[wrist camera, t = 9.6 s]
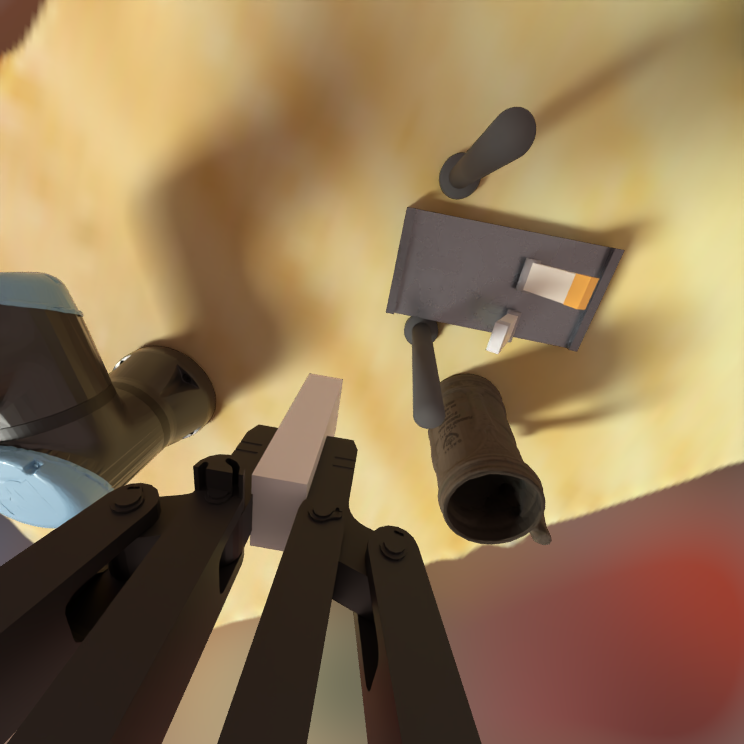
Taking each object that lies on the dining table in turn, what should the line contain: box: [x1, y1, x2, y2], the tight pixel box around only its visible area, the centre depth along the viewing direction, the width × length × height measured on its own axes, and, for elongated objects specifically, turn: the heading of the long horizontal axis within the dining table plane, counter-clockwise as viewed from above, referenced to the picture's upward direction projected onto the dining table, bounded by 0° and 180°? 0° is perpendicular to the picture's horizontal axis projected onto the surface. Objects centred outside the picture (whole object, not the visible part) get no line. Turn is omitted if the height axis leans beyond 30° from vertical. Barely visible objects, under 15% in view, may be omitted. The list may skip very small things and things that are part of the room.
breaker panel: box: [386, 207, 624, 351], centre depth 41 cm, size 24×12×3 cm, turn 80°
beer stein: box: [428, 374, 552, 545], centre depth 42 cm, size 15×11×20 cm
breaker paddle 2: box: [515, 258, 599, 310], centre depth 36 cm, size 2×4×8 cm
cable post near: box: [439, 107, 536, 199], centre depth 28 cm, size 4×4×22 cm
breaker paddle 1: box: [486, 309, 522, 354], centre depth 39 cm, size 2×4×8 cm, turn 170°
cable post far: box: [404, 316, 445, 429], centre depth 36 cm, size 4×4×22 cm
